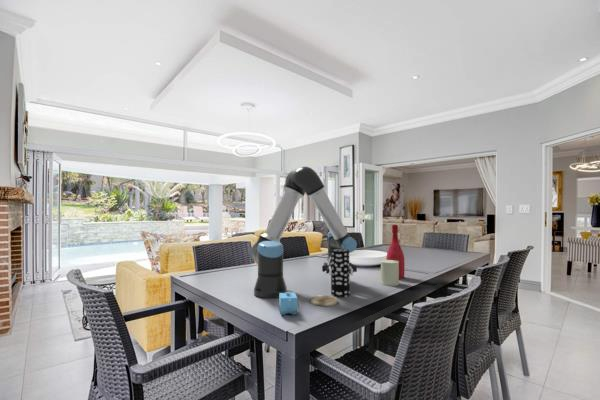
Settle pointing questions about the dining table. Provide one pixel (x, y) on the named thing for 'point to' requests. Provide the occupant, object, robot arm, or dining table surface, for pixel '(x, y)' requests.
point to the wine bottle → (396, 251)
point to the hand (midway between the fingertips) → (341, 272)
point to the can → (389, 272)
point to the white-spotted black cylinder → (340, 273)
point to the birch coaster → (324, 300)
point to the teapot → (288, 303)
